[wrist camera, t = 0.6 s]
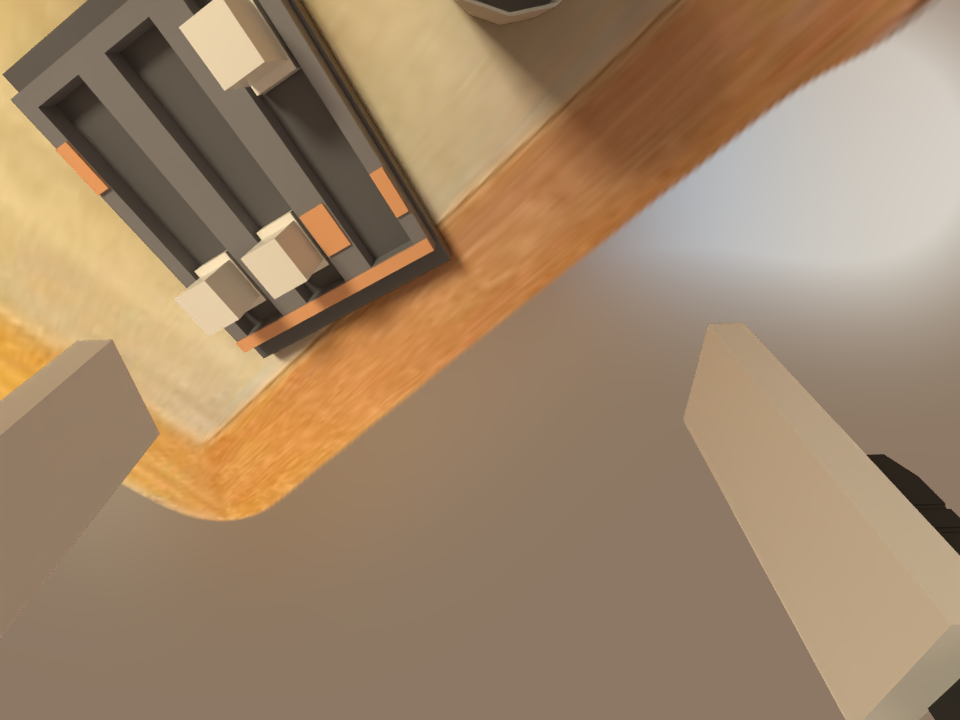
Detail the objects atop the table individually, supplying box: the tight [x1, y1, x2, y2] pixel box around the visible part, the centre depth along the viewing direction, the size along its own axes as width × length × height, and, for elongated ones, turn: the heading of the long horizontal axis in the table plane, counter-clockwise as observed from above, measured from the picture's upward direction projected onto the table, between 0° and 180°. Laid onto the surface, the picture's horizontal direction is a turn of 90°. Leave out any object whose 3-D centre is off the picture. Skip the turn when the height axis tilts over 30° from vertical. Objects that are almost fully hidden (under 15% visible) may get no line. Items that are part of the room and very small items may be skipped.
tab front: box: [179, 0, 301, 96], centre depth 26 cm, size 4×3×5 cm
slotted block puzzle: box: [2, 0, 452, 358], centre depth 31 cm, size 22×17×3 cm
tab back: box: [173, 250, 268, 336], centre depth 33 cm, size 4×3×5 cm
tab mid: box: [241, 210, 331, 299], centre depth 32 cm, size 4×3×5 cm
